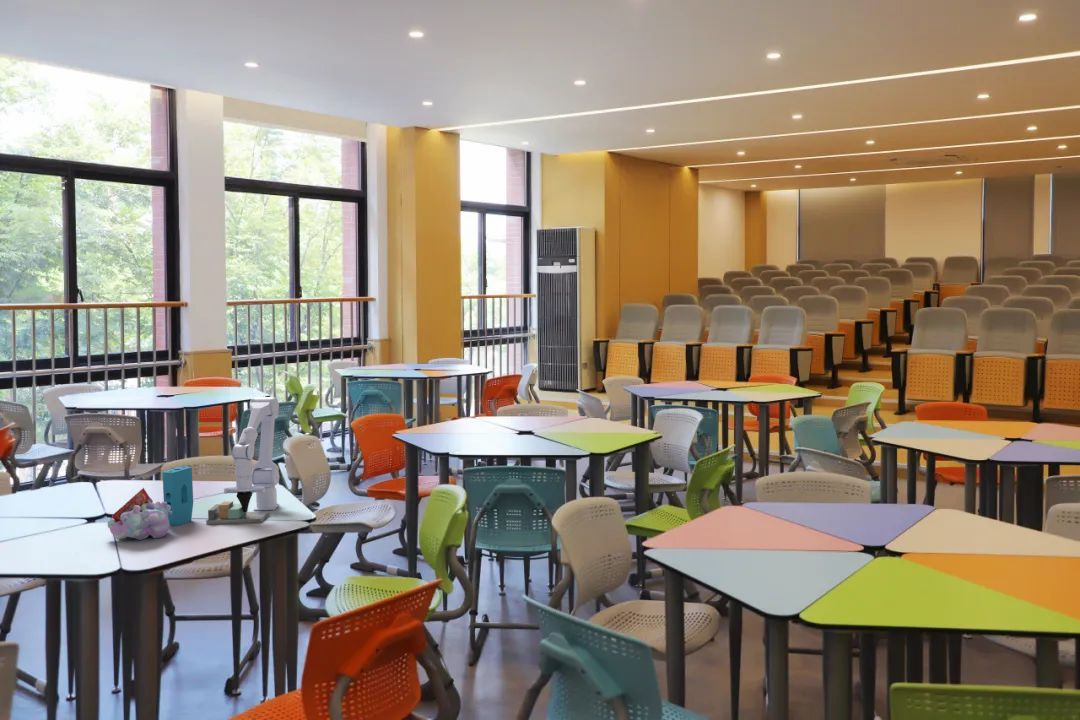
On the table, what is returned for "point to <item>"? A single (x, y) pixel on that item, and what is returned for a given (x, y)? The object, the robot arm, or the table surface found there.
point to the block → (178, 494)
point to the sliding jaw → (235, 511)
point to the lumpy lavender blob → (140, 518)
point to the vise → (245, 518)
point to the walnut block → (224, 509)
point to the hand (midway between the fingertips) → (245, 511)
